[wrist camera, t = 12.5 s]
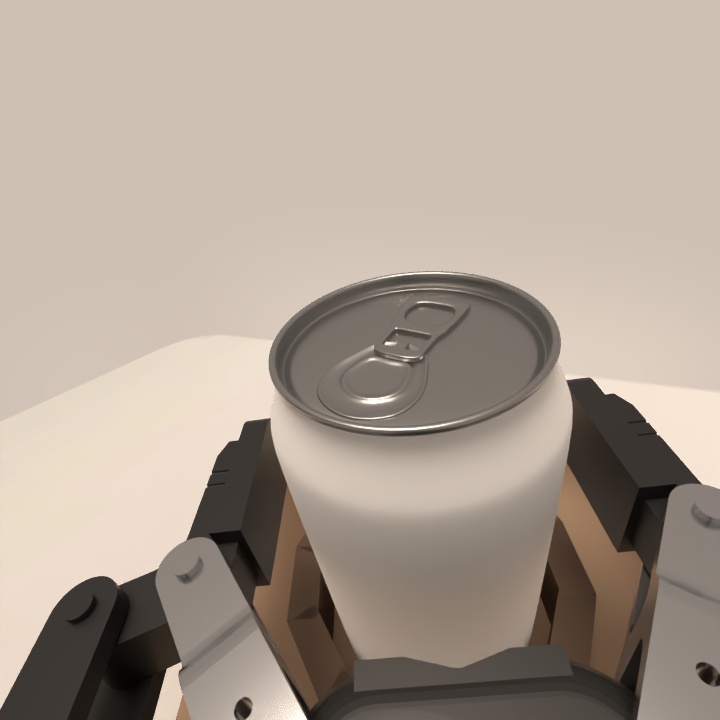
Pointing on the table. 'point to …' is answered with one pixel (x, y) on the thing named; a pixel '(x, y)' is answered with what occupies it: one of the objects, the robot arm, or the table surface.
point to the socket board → (551, 625)
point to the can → (425, 458)
